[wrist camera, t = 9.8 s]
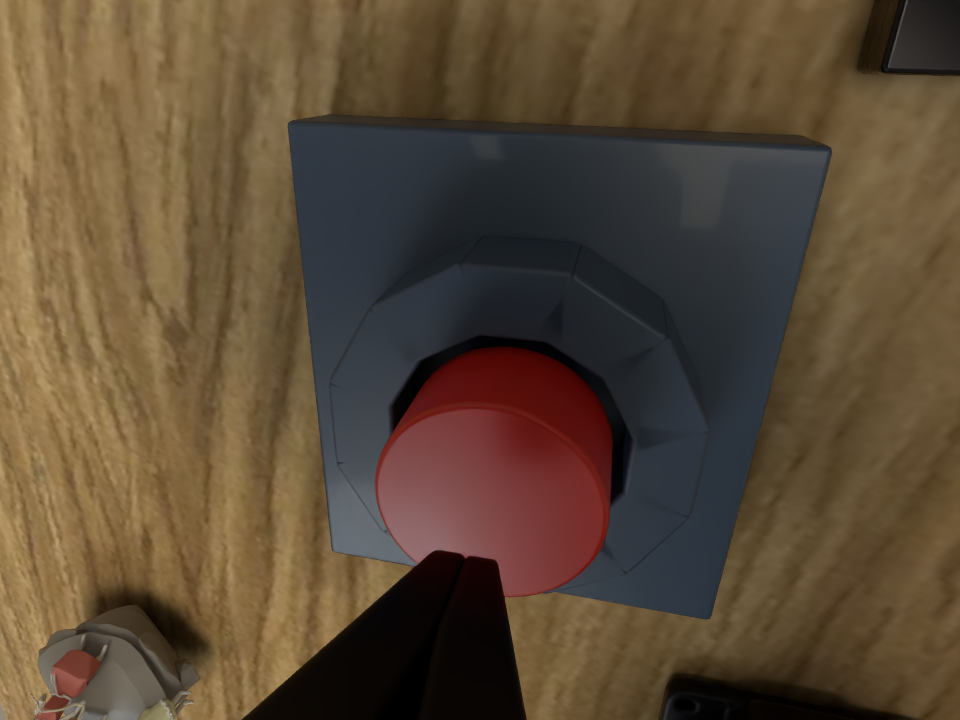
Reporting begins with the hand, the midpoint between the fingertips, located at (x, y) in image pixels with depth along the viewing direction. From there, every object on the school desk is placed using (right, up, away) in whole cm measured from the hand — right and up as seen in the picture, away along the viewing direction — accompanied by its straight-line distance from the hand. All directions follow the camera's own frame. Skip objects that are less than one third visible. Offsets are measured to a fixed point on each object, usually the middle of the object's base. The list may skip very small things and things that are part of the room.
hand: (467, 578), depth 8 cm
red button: (+1, +2, +3) cm, 3 cm away
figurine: (-11, -7, +13) cm, 19 cm away
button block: (+1, +3, +6) cm, 7 cm away
